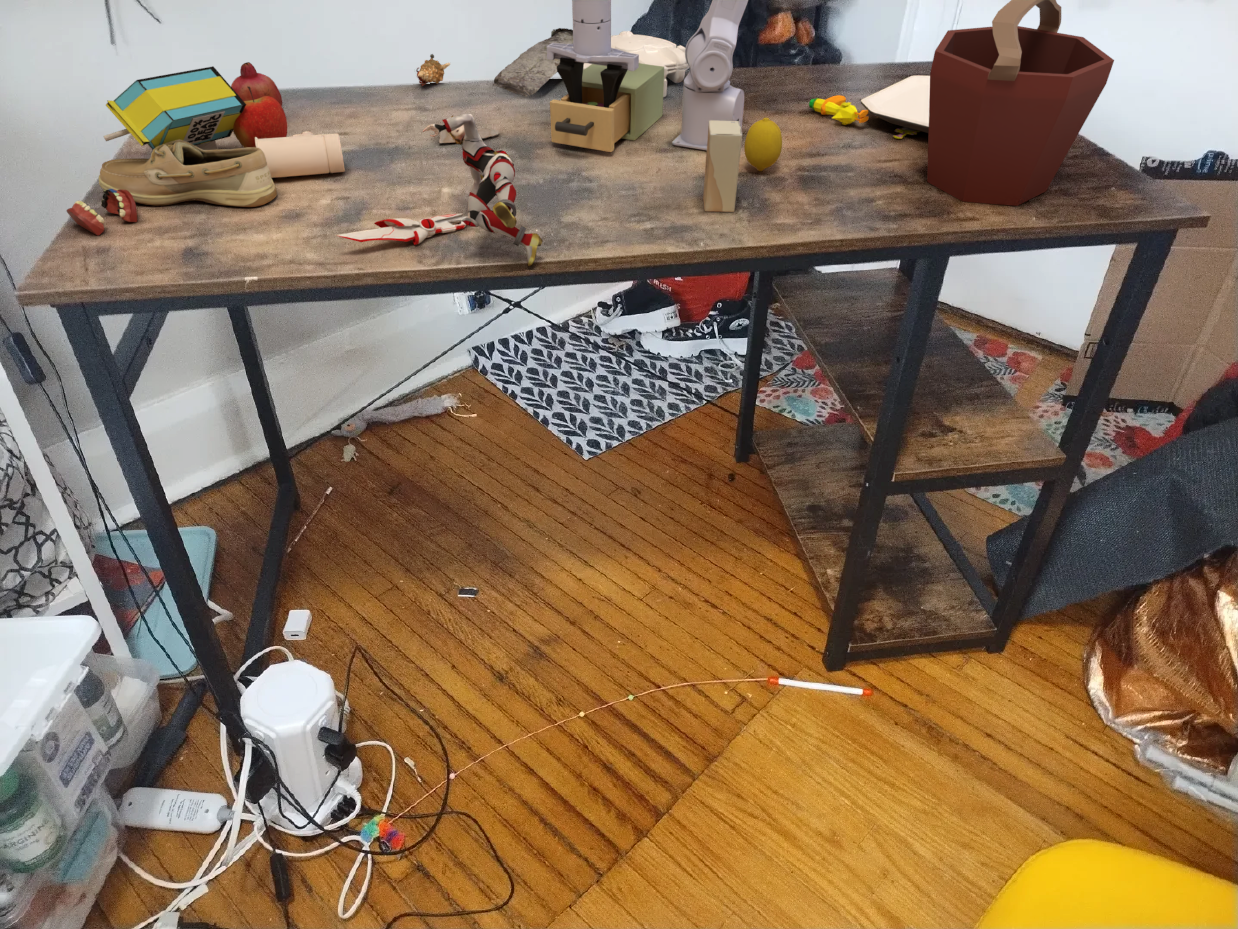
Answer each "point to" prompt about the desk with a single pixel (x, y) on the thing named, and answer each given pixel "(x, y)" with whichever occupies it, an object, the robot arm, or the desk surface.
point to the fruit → (255, 85)
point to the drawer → (590, 120)
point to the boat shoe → (193, 176)
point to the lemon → (763, 144)
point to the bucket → (1009, 104)
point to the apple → (260, 121)
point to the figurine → (431, 71)
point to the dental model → (113, 202)
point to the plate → (903, 103)
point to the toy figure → (838, 109)
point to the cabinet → (635, 94)
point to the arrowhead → (483, 133)
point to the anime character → (489, 180)
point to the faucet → (302, 154)
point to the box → (722, 165)
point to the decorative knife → (905, 132)
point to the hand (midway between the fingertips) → (593, 111)
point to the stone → (533, 66)
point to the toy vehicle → (653, 54)
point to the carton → (177, 108)
